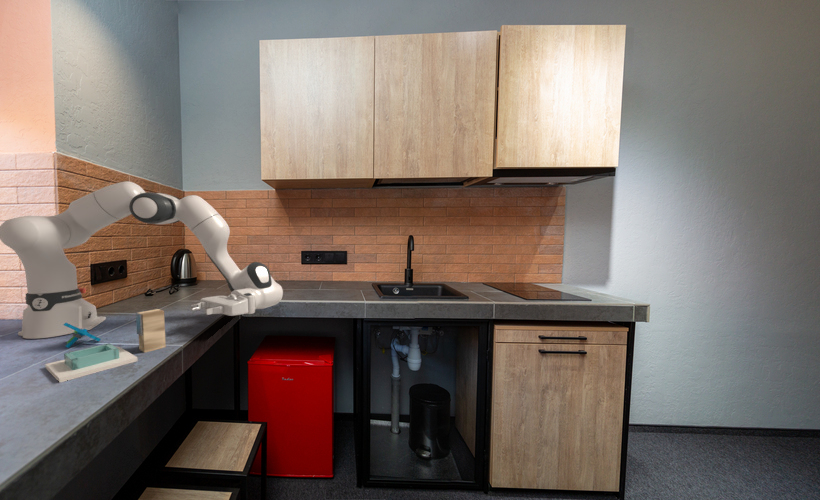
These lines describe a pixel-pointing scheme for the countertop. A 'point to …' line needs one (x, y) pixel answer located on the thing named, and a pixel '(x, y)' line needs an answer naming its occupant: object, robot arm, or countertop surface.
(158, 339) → the block
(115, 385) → the countertop surface
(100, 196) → the robot arm
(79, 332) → the blue crossed bar frame
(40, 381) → the countertop surface
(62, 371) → the socket base
